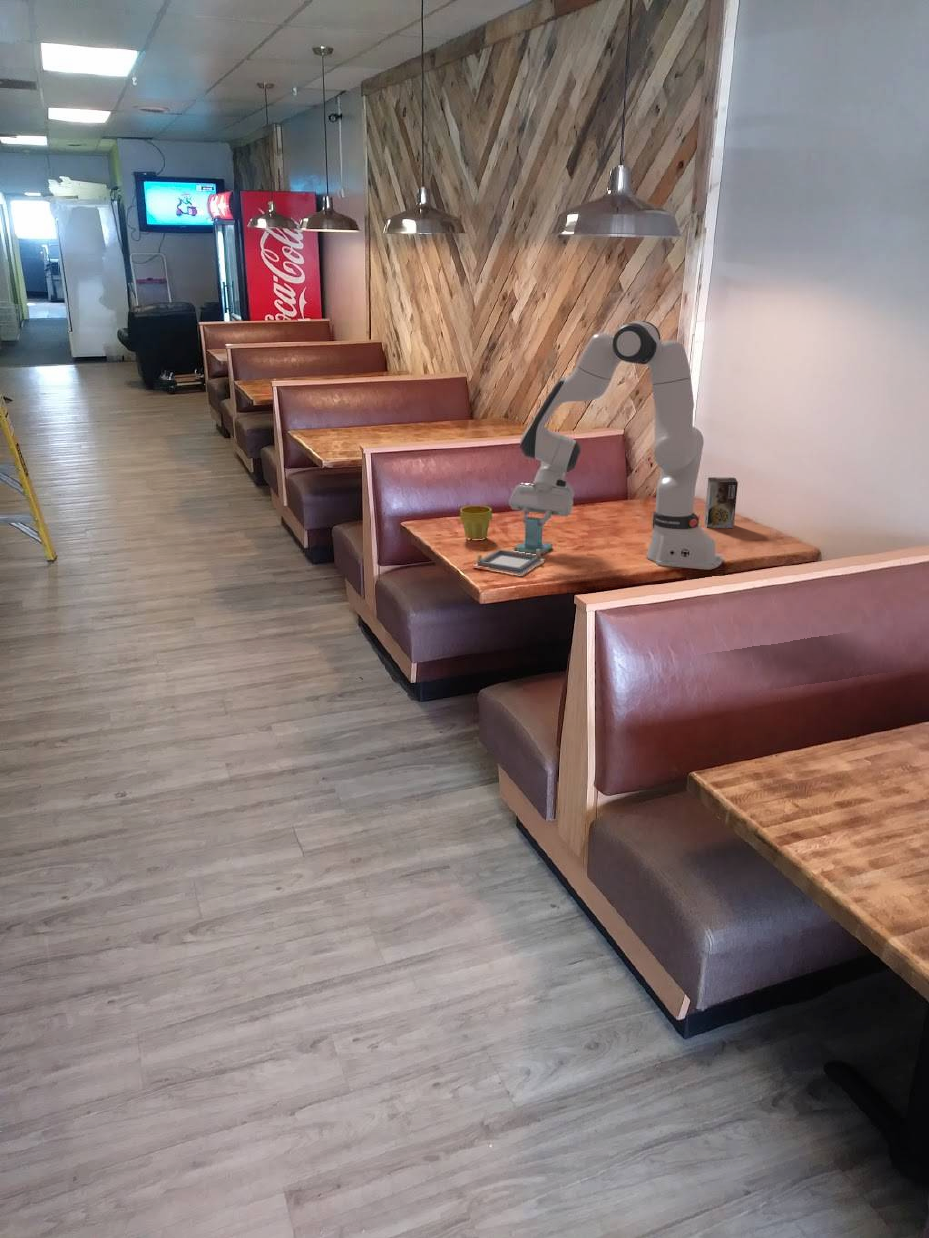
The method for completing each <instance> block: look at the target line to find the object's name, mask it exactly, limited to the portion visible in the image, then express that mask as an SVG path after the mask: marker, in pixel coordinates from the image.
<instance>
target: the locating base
mask: <svg viewBox="0 0 929 1238" xmlns="http://www.w3.org/2000/svg"><path fill="white" fill-rule="evenodd" d="M482 557H483V555H482V554H477V563H476V564H474V565H473V566H483V567H489V568H490V569H492V570H498V571H503V572H508V573H513V574H517V575H521V576H522V575H524V574H525V573H526V572H528V571H529V570H530V569H532V568H533V567H535V566H537V565H538V564H540V563H541V562H543V561H544V560H545V561H546V559H545V558H541V557H542V555H541V556H540V549H537V550H536V555H532V554H526V553H519V552H514V550H513V551H511V550H507V549H500V548H498V549H497V550H496V551H494V552H491V553H490V554H488V555H487V556H485V557H484V558H482ZM524 576H525V575H524Z"/></svg>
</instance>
